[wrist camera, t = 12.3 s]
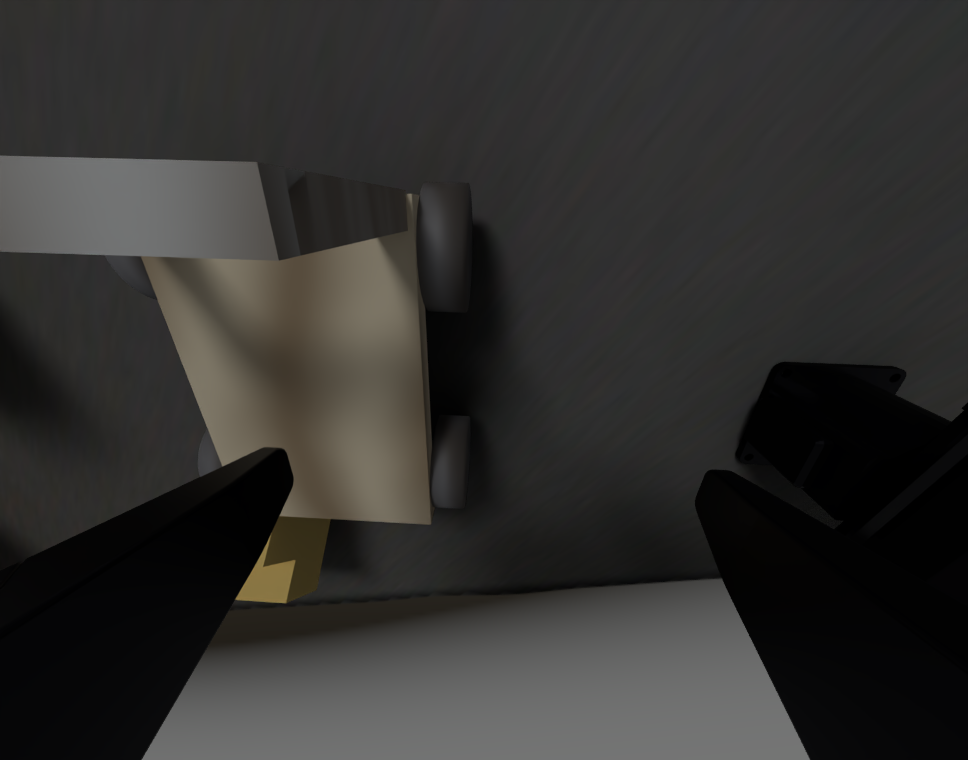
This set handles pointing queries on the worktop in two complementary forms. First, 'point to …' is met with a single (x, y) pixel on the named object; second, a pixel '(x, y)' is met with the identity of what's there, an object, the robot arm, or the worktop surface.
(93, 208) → the trolley
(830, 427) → the robot arm
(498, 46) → the worktop surface
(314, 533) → the block
